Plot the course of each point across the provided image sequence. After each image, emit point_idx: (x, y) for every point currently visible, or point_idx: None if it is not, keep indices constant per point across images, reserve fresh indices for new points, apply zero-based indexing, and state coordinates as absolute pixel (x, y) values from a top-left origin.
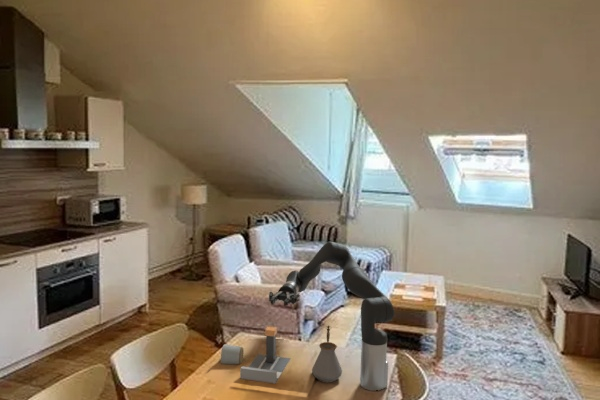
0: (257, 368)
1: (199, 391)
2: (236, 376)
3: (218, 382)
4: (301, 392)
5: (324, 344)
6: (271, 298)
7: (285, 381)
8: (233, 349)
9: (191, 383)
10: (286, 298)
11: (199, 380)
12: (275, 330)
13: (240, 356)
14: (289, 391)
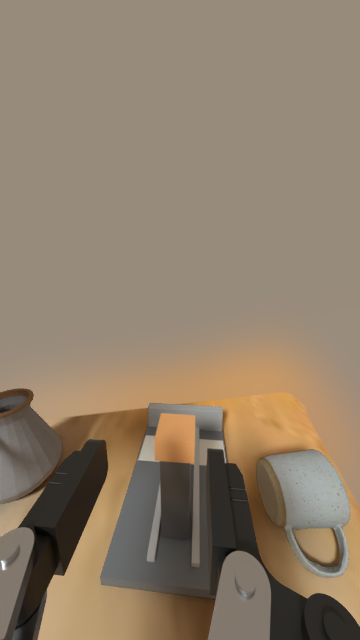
0: (188, 410)
1: (265, 399)
2: (238, 446)
3: (256, 422)
4: (104, 417)
5: (4, 416)
6: (280, 595)
7: (130, 444)
8: (285, 455)
9: (296, 414)
10: (52, 526)
11: (293, 423)
12: (158, 424)
13: (258, 462)
14: (125, 416)
